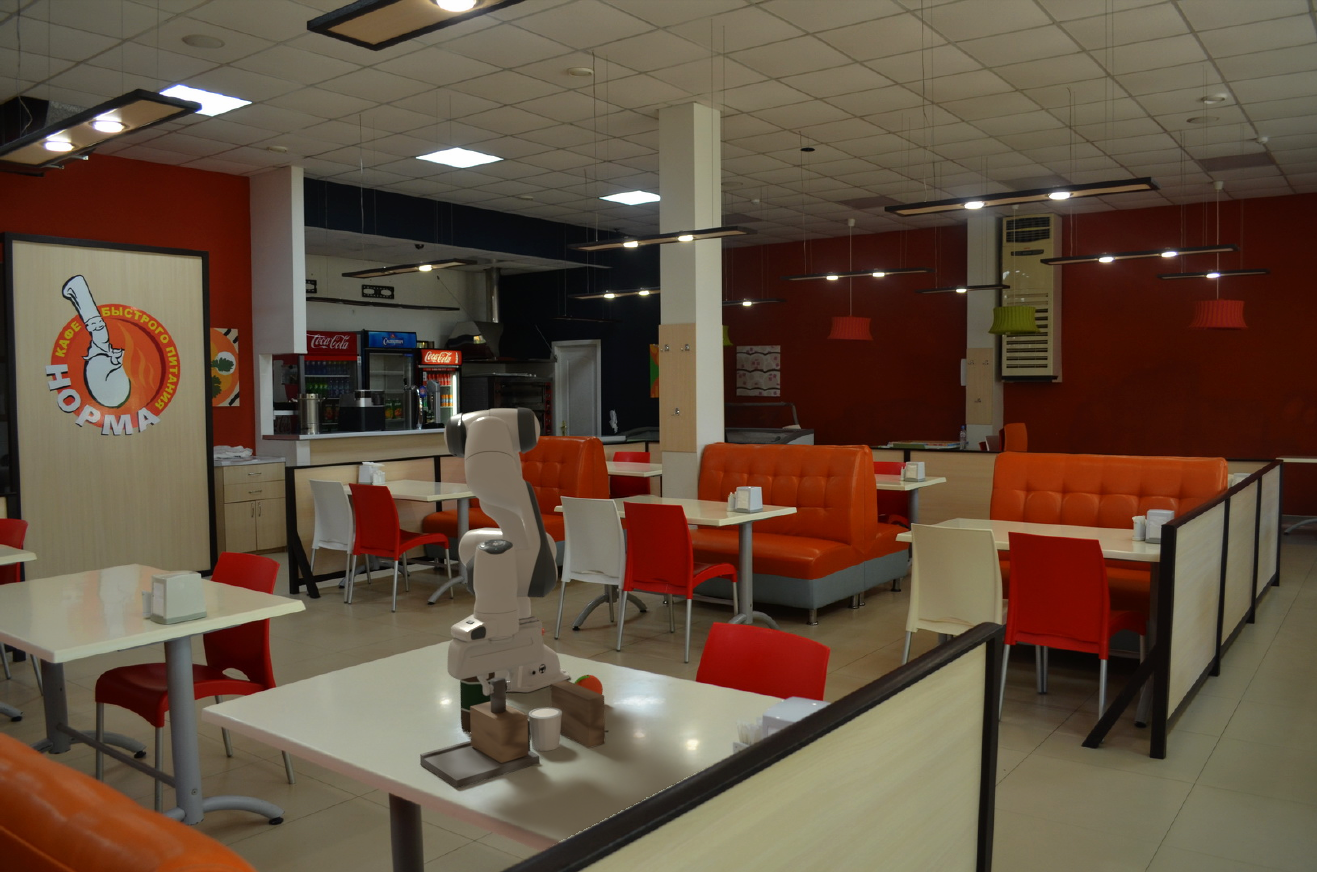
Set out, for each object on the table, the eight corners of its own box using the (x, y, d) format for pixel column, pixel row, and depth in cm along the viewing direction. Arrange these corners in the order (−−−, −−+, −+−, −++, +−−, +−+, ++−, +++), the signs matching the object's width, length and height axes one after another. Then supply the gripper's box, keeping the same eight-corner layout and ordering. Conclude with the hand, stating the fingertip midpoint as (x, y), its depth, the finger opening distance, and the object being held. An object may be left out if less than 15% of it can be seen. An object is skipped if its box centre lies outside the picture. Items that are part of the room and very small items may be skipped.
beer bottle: (466, 735, 201) (464, 624, 200) (456, 724, 208) (454, 616, 207) (501, 729, 205) (499, 619, 204) (490, 718, 212) (488, 612, 211)
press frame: (564, 723, 208) (563, 679, 207) (604, 743, 196) (604, 695, 196) (420, 764, 186) (419, 714, 185) (456, 788, 174) (455, 734, 174)
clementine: (581, 713, 215) (580, 682, 214) (563, 705, 220) (563, 675, 220) (609, 705, 220) (608, 674, 220) (590, 697, 225) (590, 668, 225)
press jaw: (500, 737, 195) (499, 669, 194) (531, 754, 186) (530, 682, 185) (470, 745, 191) (469, 676, 190) (501, 763, 181) (500, 690, 181)
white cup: (529, 740, 198) (529, 707, 198) (562, 738, 199) (562, 706, 198) (528, 752, 191) (527, 718, 191) (562, 751, 192) (561, 717, 192)
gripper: (533, 612, 196) (534, 677, 196) (442, 628, 183) (444, 699, 183) (549, 617, 191) (550, 684, 192) (458, 634, 178) (459, 707, 179)
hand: (498, 692), depth 187 cm, fingers closed on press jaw, 3 cm apart
